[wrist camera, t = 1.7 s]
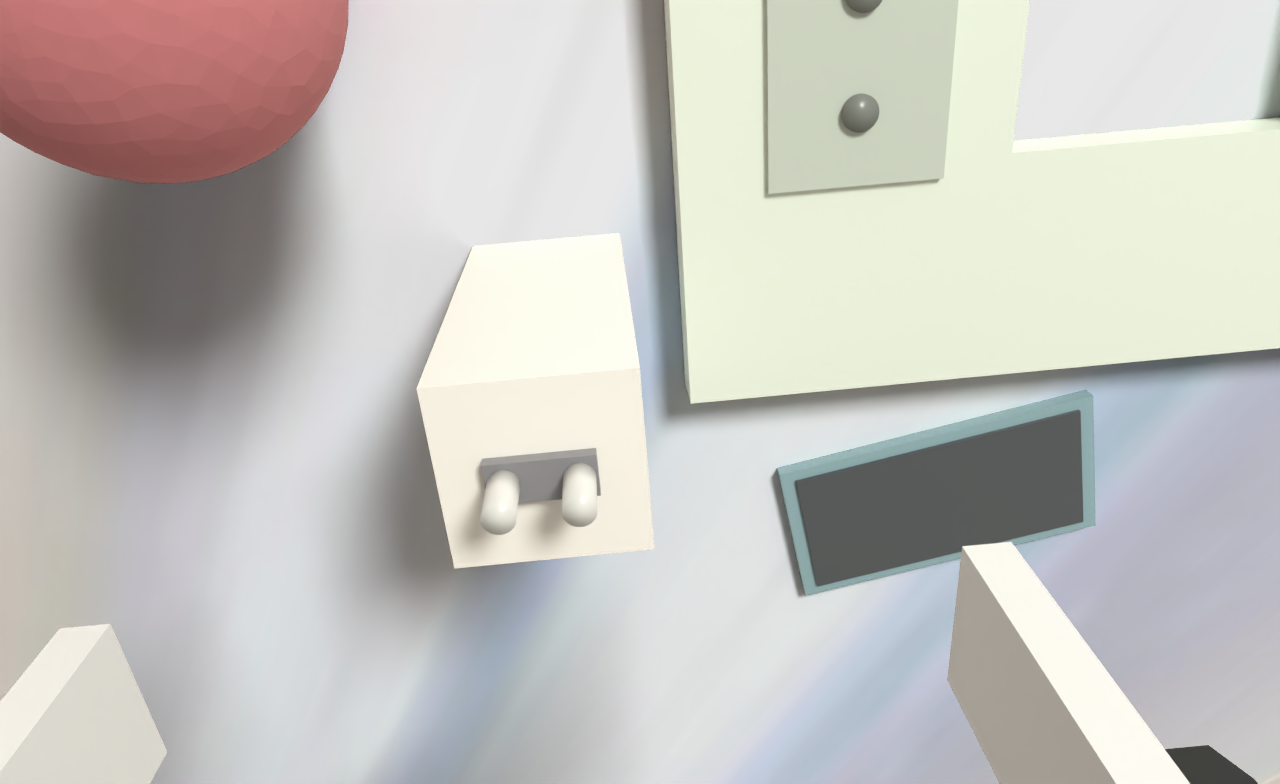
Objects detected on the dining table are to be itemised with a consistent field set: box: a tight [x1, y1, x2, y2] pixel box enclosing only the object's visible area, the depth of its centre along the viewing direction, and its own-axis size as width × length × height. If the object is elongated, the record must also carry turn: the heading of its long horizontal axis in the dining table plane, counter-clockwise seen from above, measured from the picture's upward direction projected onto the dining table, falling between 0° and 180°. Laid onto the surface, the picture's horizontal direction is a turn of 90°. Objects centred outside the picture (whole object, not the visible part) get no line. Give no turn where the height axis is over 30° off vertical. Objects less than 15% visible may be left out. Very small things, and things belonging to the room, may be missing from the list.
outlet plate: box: [664, 0, 1280, 404], centre depth 24 cm, size 22×16×2 cm
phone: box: [777, 390, 1095, 596], centre depth 31 cm, size 11×6×1 cm, turn 105°
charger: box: [416, 233, 654, 569], centre depth 22 cm, size 4×4×12 cm
